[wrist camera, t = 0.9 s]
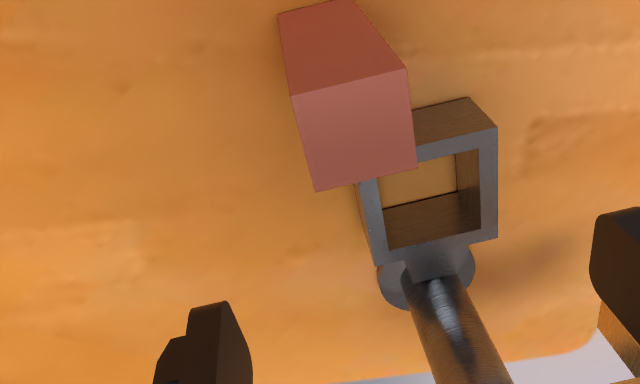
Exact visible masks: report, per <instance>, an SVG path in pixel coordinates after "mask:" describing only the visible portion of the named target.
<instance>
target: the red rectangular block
mask: <svg viewBox="0 0 640 384" xmlns="http://www.w3.org/2000/svg"><path fill="white" fill-rule="evenodd" d="M277 18H278V24H279V31H280V37H281V43H282V49H283V55H284V62H285V68H286V74H287V80H288V86H289V93H290V98H291V102H292V105H293V109H294V113H295V117H296V121H297V125H298V128H299V132H300V136H301V140H302V144H303V147H304V151H305V155H306V159H307V163H308V167H309V170H310V174H311V178H312V182H313V186H314V189H315V193H316V192H320V191H324V190H329V189H333V188H337V187H341V186H345V185H349V184H353V183H358V182H362V181H366V180H370V179H374V178H378V177H383V176H387V175H391V174H395V173H399V172H403V171H408V170H412V169H416V168H418V164H417V156H416V147H415V138H414V129H413V120H412V111H411V102H410V93H409V84H408V75H407V68H406V66H405V65H404V64H403V63H402V61H401V60H400V59H399V58H398V56H397V55H396V54H395V53H394V51H393V50H392V49H391V48H390V46H389V45H388V44H387V43H386V41H385V40H384V39H383V37H382V36H381V35H380V34H379V32H378V31H377V30H376V29H375V27H374V26H373V25H372V24H371V22H370V21H369V20H368V19H367V17H366V16H365V15H364V14H363V12H362V11H361V10H360V9H359V7H358V6H357V5H356V3H355V2H354V1H353V0H333V1H329V2H325V3H321V4H317V5H313V6H309V7H305V8H301V9H297V10H293V11H289V12H285V13H281V14H277Z"/></svg>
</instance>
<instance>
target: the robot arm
mask: <svg viewBox="0 0 640 384" xmlns="http://www.w3.org/2000/svg"><path fill="white" fill-rule="evenodd" d="M589 274H590V279H591V282H592V285H593V287H594V289H595V291H596V292H597V294H598V295H599V297H600V298H601V299H602V301H603V302H604V303H605V304H606V305H607V307H608V308H609V309H610V310H611V311H612V313H613V314H614V315H615V316H616V317H617V319H618V320H619V321H620V322H621V324H622V325H623V326H624V327H625V328H626V330H627V331H628V332H629V333H630V334H631V336H632V337H633V338H634V339H635V341H636V342H637V343H638V344H639V345H640V207H632V208H628V209H623V210H619V211H615V212H610V213H606V214H602V215H600V216H598V217H597V219H596V222H595V228H594V235H593V242H592V250H591V257H590V264H589ZM153 384H253V369H252V361H251V356H250V352H249V348H248V345H247V343H246V341H245V338H244V336H243V334H242V332H241V329H240V327H239V325H238V323H237V320H236V318H235V316H234V314H233V311H232V309H231V307H230V305H229V303H228V302H227V301H222V302H218V303H213V304H209V305H205V306H200V307H196V308H192V309H191V310H190V313H189V317H188V323H187V330H186V336H181V337H177V338H173V339H171V340H170V341H169V343H168V345H167V346H166V348H165V350H164V351H163V353H162V354H161V356H160V358H159V359H158V361H157V365H156V369H155V374H154V379H153Z"/></svg>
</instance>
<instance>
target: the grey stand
mask: <svg viewBox="0 0 640 384" xmlns="http://www.w3.org/2000/svg"><path fill="white" fill-rule="evenodd" d="M412 120H413V129H414V138H415V147H416V156H417V163H418V162H423V161H427V160H431V159H435V158H439V157H443V156H448V155H452V154H455V155H456V172H457V189H458V192H457V193H452V194H448V195H444V196H440V197H436V198H432V199H427V200H423V201H419V202H415V203H411V204H406V205H402V206H398V207H394V208H390V209H385V210H382V208H381V202H380V196H379V190H378V184H377V178H374V179H370V180H366V181H362V182H358V183H354V187H355V192H356V197H357V202H358V206H359V211H360V216H361V221H362V226H363V230H364V233H365V236H366V239H367V243H368V246H369V249H370V252H371V256H372V259H373V262H374V265H375V267H377V266H379V268H378V273H377V278H378V283H379V286H380V289H381V293H382V295H383V296H384V298H385V299H386V300H387V301H388V302H389V303H390V304H392V305H393V306H395V307H397V308H400V309H403V310H407V311H410V312H411V315H412V318H413V321H414V323H415V326H416V329H417V332H418V335H419V337H420V340H421V343H422V346H423V349H424V351H425V354H426V357H427V360H428V363H429V365H430V368H431V371H432V374H433V377H434V379H435V382H436V384H514V383H513V381H512V379H511V377H510V375H509V373H508V372H507V370H506V368H505V366H504V364H503V362H502V360H501V358H500V356H499V354H498V352H497V350H496V348H495V346H494V344H493V342H492V340H491V338H490V336H489V334H488V332H487V330H486V328H485V326H484V324H483V322H482V320H481V319H480V317H479V315H478V313H477V311H476V309H475V307H474V305H473V303H472V301H471V299H470V297H469V295H468V293H467V291H466V289H467V287H468V286H469V285H470V283H471V281H472V279H473V276H474V273H475V261H474V258H473V255H472V254H471V252H470V250H469V248H468V247H467V245H470V244H474V243H478V242H483V241H487V240H491V239H495V238H498V127H497V126H496V125H495V124H494V123H493V121H492V120H491V119H490V118H489V117H488V116H487V115H486V114H485V113H484V112H483V111H482V110H481V109H480V108H479V107H478V106H477V105H476V104H475V103H474V102H473V101H472V100H471V99H470V98H469V97H468V98H464V99H460V100H455V101H451V102H447V103H443V104H439V105H435V106H431V107H427V108H422V109H418V110H414V111H412ZM597 328H598V329H599V330H600V331H601V333H602V334H603V335H604V336H605V338H606V339H607V341H608V342H609V343H610V345H611V346H612V347H613V349H614V350H615V351H616V352H617V354H618V355H619V357H620V358H621V359H622V361H623V362H624V363H625V364H626V366H627V367H628V368H629V370H630V371H631V372H632V374H633V375H634V376H635V378H633V379H629V380H624V381H620V382H616V383H611V384H640V345H639V344H638V343H637V342H636V341H635V339H634V338H633V337H632V336H631V334H630V333H629V332H628V331H627V330H626V328H625V327H624V326H623V325H622V324H621V322H620V321H619V320H618V319H617V317H616V316H615V315H614V314H613V313H612V311H611V310H610V309H609V308H608V307H607V305H606V304H605V303H604V302H603V301H601V306H600V312H599V318H598V324H597Z"/></svg>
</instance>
